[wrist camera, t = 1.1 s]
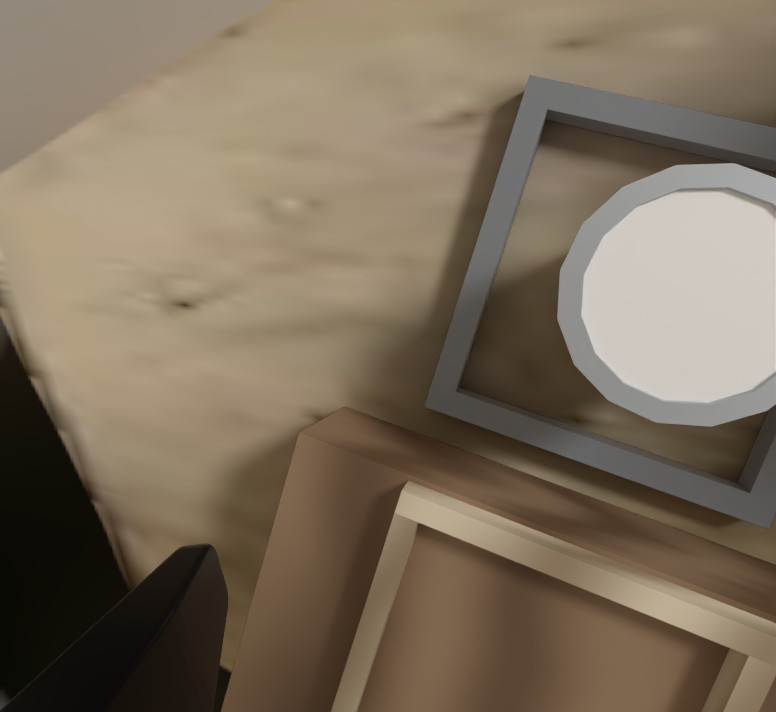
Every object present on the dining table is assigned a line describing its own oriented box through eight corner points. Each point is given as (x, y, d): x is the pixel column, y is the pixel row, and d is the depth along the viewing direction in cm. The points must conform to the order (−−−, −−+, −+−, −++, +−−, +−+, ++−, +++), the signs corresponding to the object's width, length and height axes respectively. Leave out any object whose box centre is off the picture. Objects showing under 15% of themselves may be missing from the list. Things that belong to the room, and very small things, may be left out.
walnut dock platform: (840, 589, 20) (967, 705, 14) (715, 849, 22) (782, 1044, 16) (344, 406, 24) (286, 439, 18) (276, 639, 26) (205, 735, 20)
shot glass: (560, 398, 22) (575, 441, 15) (534, 227, 22) (538, 193, 15) (753, 375, 20) (868, 412, 13) (729, 189, 20) (834, 129, 13)
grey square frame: (908, 170, 18) (933, 161, 17) (755, 516, 21) (768, 529, 19) (529, 87, 21) (529, 75, 20) (429, 401, 23) (424, 406, 22)
